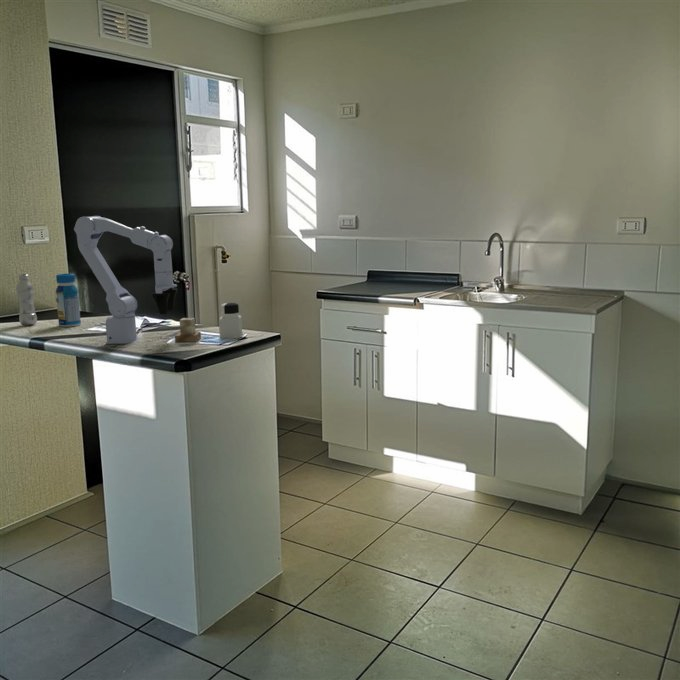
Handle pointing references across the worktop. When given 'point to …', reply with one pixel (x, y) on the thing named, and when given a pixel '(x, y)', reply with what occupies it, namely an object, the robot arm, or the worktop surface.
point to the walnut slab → (187, 338)
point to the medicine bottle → (230, 321)
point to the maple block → (187, 326)
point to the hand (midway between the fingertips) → (166, 312)
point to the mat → (186, 343)
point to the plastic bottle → (26, 301)
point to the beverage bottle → (67, 301)
